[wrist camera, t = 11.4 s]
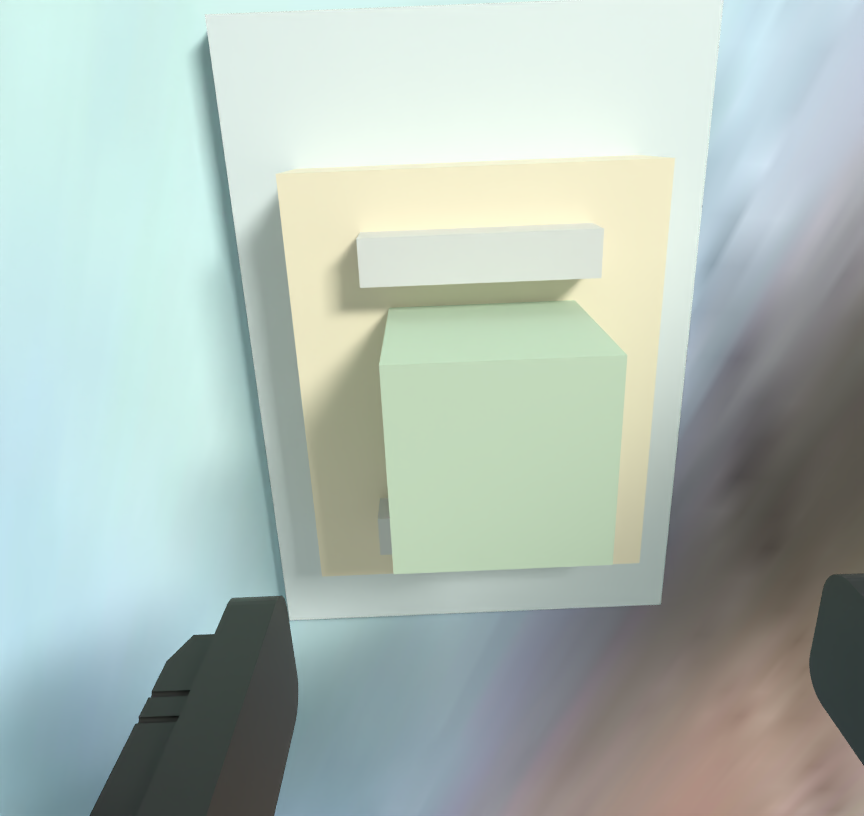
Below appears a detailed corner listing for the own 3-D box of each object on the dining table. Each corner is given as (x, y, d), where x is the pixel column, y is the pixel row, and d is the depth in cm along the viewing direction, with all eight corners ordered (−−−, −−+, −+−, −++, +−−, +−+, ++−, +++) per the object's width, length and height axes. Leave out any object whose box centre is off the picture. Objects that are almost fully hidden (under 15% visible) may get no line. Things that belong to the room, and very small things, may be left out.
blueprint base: (709, 0, 19) (805, -44, 15) (652, 588, 27) (703, 687, 22) (215, 20, 19) (146, -19, 15) (294, 603, 27) (266, 706, 22)
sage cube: (574, 299, 18) (627, 355, 14) (568, 466, 20) (612, 564, 16) (388, 307, 18) (378, 365, 14) (399, 473, 20) (393, 573, 16)
